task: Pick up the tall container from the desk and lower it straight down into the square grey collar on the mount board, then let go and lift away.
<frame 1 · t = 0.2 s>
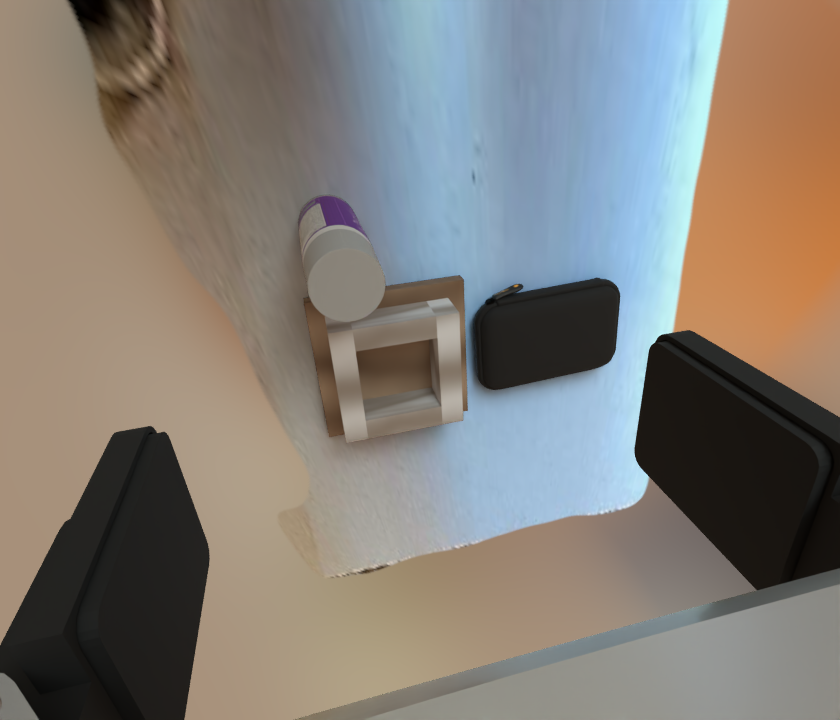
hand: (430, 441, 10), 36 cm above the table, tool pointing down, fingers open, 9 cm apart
carrying case or bag: (540, 323, 53), on the table
mount: (391, 356, 50), on the table
container: (327, 223, 43), on the table
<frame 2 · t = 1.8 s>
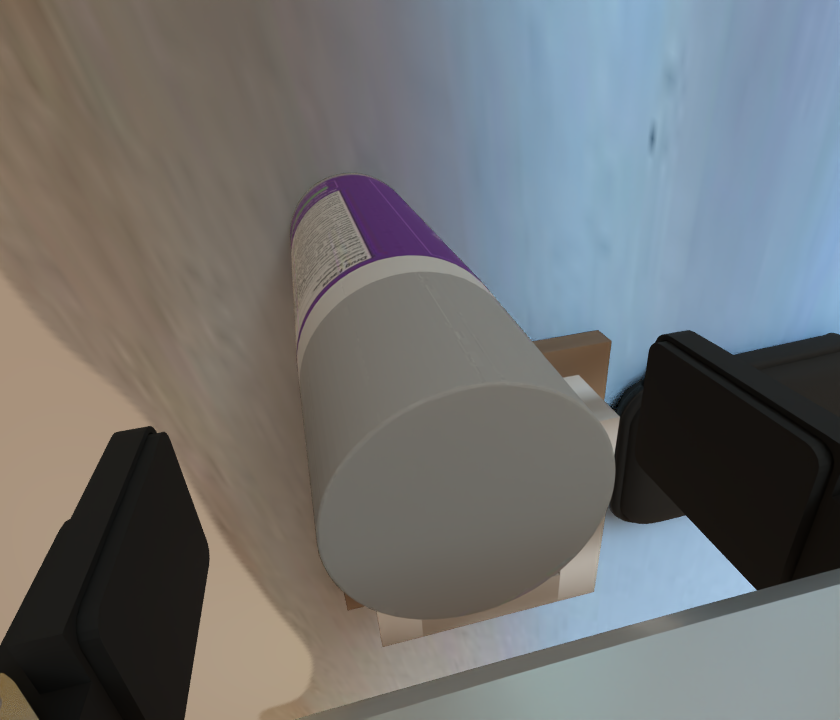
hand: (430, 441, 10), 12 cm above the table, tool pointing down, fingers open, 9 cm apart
carrying case or bag: (714, 407, 30), on the table
mount: (461, 472, 27), on the table
container: (351, 234, 20), on the table
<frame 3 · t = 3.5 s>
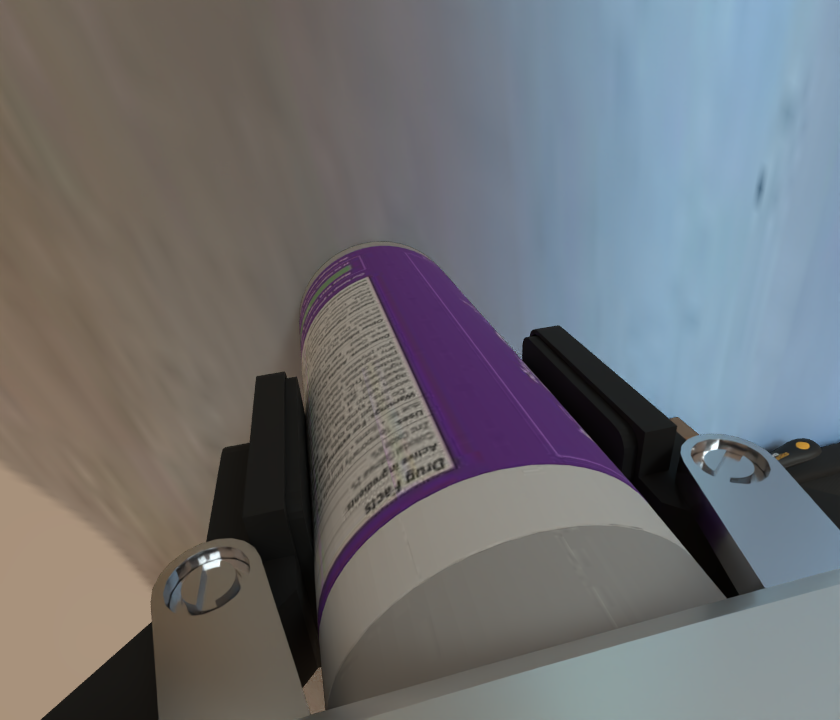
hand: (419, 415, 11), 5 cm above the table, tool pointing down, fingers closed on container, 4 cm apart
carrying case or bag: (802, 497, 25), on the table
container: (378, 316, 16), on the table, touching gripper
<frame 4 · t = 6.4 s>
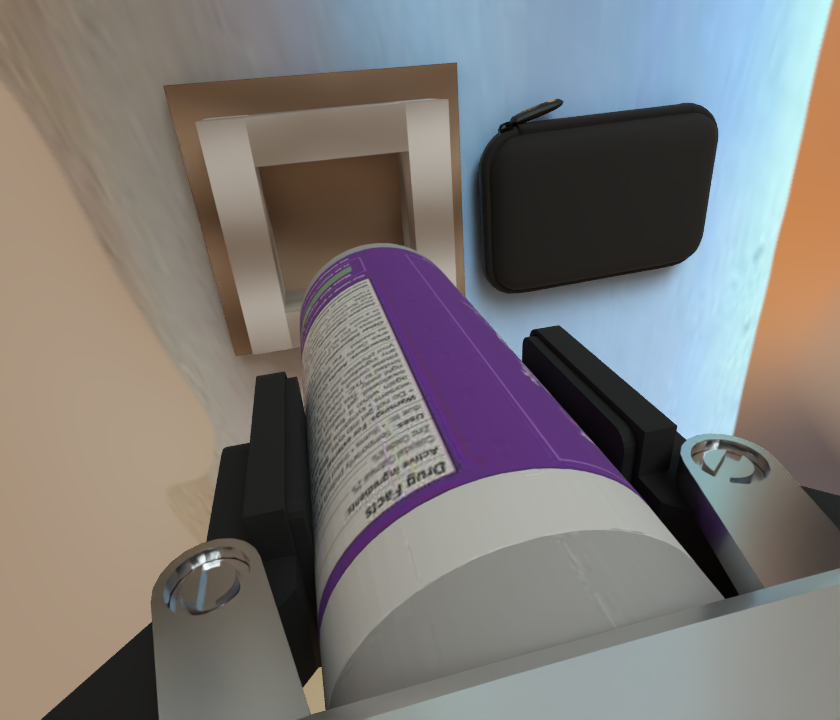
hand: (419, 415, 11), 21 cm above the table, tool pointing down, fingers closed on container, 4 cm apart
carrying case or bag: (584, 188, 33), on the table
mount: (336, 215, 30), on the table
container: (378, 317, 16), point 16 cm above the table, touching gripper
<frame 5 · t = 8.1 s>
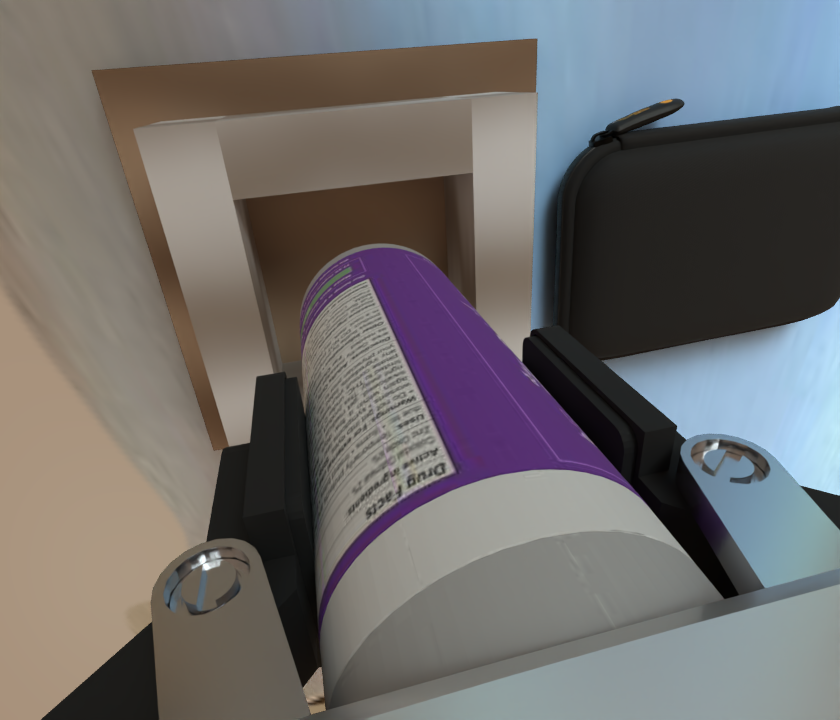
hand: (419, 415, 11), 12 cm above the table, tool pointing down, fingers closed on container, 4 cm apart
carrying case or bag: (689, 220, 24), on the table
mount: (354, 257, 21), on the table
container: (378, 317, 16), point 6 cm above the table, touching gripper
when the fingers open (8 cm above the table, at t = 9.2 s): container drops 1 cm, resting on mount.
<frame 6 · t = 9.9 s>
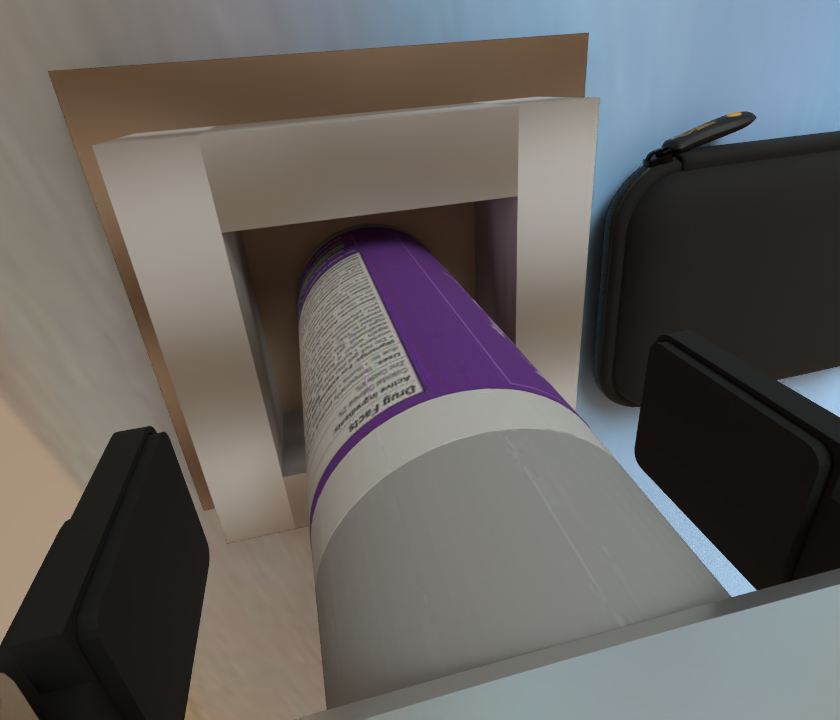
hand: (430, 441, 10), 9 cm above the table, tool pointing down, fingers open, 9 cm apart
carrying case or bag: (745, 247, 21), on the table
mount: (367, 289, 18), on the table
container: (370, 294, 17), point 1 cm above the table, touching mount
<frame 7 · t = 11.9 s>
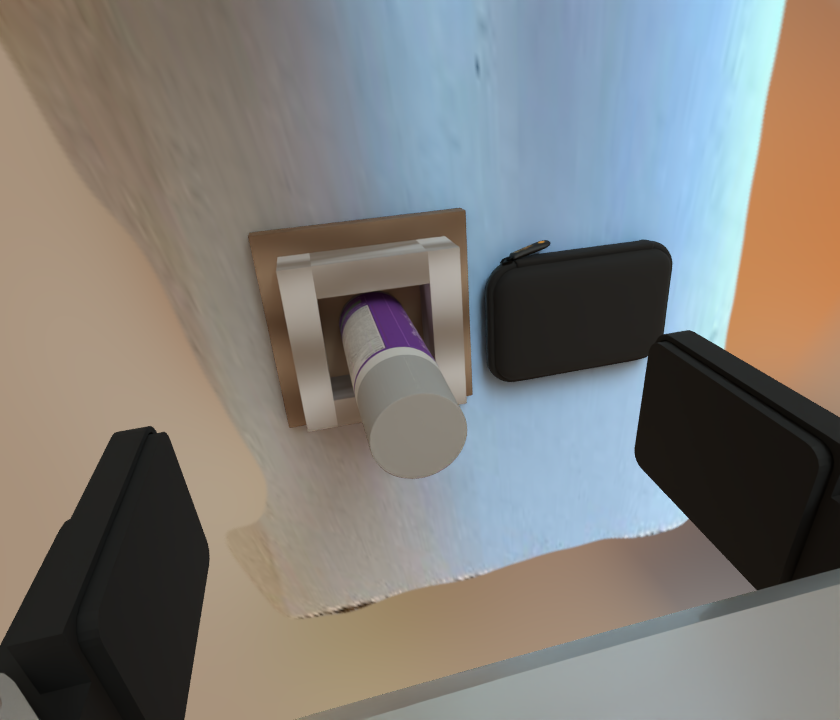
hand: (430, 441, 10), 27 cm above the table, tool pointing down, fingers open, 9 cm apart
carrying case or bag: (568, 299, 41), on the table
mount: (370, 318, 38), on the table
container: (372, 321, 37), point 1 cm above the table, touching mount
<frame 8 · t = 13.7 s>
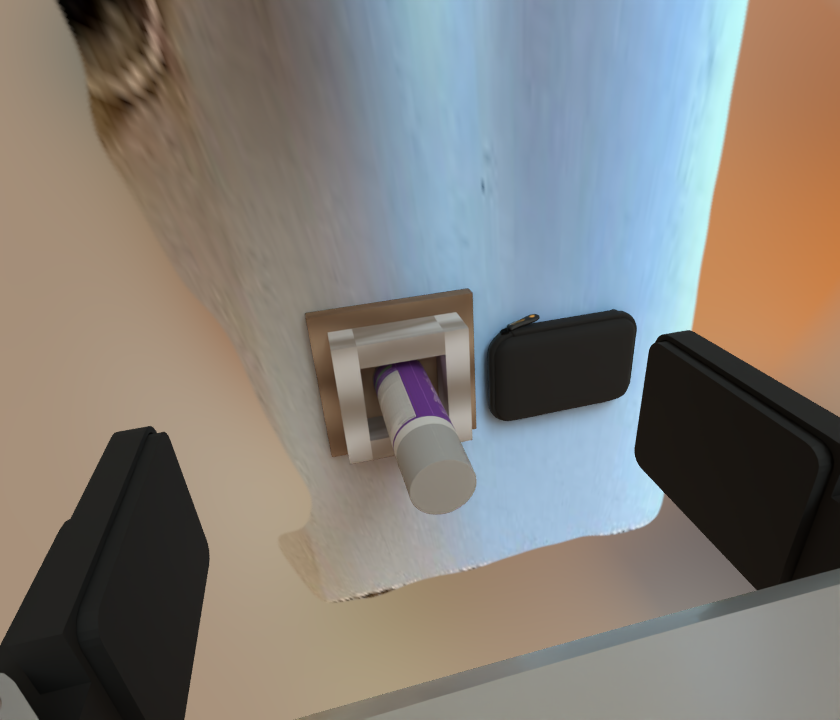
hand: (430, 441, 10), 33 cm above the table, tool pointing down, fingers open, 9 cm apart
carrying case or bag: (554, 354, 51), on the table
mount: (396, 372, 48), on the table
container: (398, 376, 47), point 1 cm above the table, touching mount
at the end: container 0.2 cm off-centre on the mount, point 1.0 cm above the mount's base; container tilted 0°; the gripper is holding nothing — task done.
